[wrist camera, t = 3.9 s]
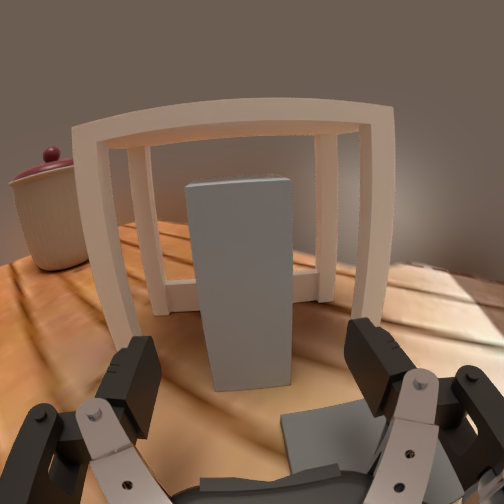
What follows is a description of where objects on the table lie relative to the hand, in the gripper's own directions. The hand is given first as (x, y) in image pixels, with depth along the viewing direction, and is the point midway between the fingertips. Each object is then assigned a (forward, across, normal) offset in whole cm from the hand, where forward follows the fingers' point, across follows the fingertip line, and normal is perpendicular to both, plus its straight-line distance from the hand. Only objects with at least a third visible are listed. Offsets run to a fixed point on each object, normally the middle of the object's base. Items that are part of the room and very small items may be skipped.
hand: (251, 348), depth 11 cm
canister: (+34, +32, +7) cm, 47 cm away
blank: (+7, 0, +7) cm, 10 cm away
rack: (+11, 0, +7) cm, 13 cm away
